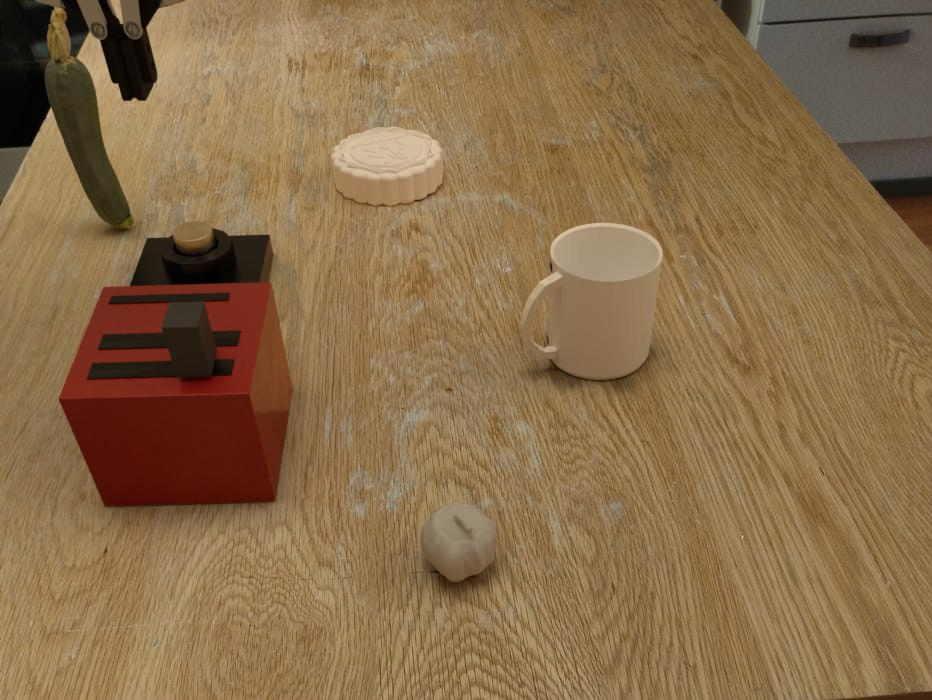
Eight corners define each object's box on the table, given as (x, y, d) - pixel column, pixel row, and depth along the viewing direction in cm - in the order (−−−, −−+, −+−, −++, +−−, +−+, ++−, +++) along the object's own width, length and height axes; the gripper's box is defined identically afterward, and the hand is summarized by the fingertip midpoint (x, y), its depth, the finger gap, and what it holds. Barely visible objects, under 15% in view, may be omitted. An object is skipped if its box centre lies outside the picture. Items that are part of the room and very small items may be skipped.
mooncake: (355, 217, 100) (351, 182, 98) (319, 168, 107) (314, 135, 104) (460, 192, 103) (459, 158, 100) (419, 147, 110) (417, 114, 107)
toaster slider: (176, 378, 66) (160, 327, 63) (183, 352, 68) (168, 301, 65) (211, 377, 66) (197, 326, 63) (217, 351, 68) (204, 300, 65)
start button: (174, 259, 89) (169, 241, 87) (180, 239, 91) (175, 221, 90) (213, 258, 89) (208, 240, 87) (218, 238, 91) (214, 220, 90)
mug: (627, 314, 88) (639, 216, 81) (664, 371, 83) (680, 271, 76) (501, 335, 86) (502, 236, 79) (530, 395, 81) (533, 295, 74)
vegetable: (106, 244, 98) (31, 22, 82) (86, 229, 100) (10, 9, 84) (145, 229, 99) (79, 9, 84) (124, 214, 101) (57, -4, 86)
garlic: (502, 591, 67) (502, 538, 63) (424, 597, 67) (420, 544, 63) (494, 531, 71) (494, 477, 67) (421, 536, 71) (416, 482, 67)
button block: (133, 315, 89) (120, 275, 86) (153, 258, 96) (141, 219, 93) (262, 311, 89) (253, 271, 86) (273, 255, 96) (266, 216, 93)
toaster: (104, 507, 73) (57, 397, 65) (140, 393, 82) (102, 285, 74) (275, 502, 73) (248, 392, 65) (292, 389, 82) (271, 280, 74)
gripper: (-103, -228, 54) (22, 116, 68) (163, -232, 54) (232, 114, 68) (-56, -254, 58) (51, 73, 73) (189, -257, 58) (248, 71, 73)
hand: (138, 92), depth 70 cm, fingers closed
